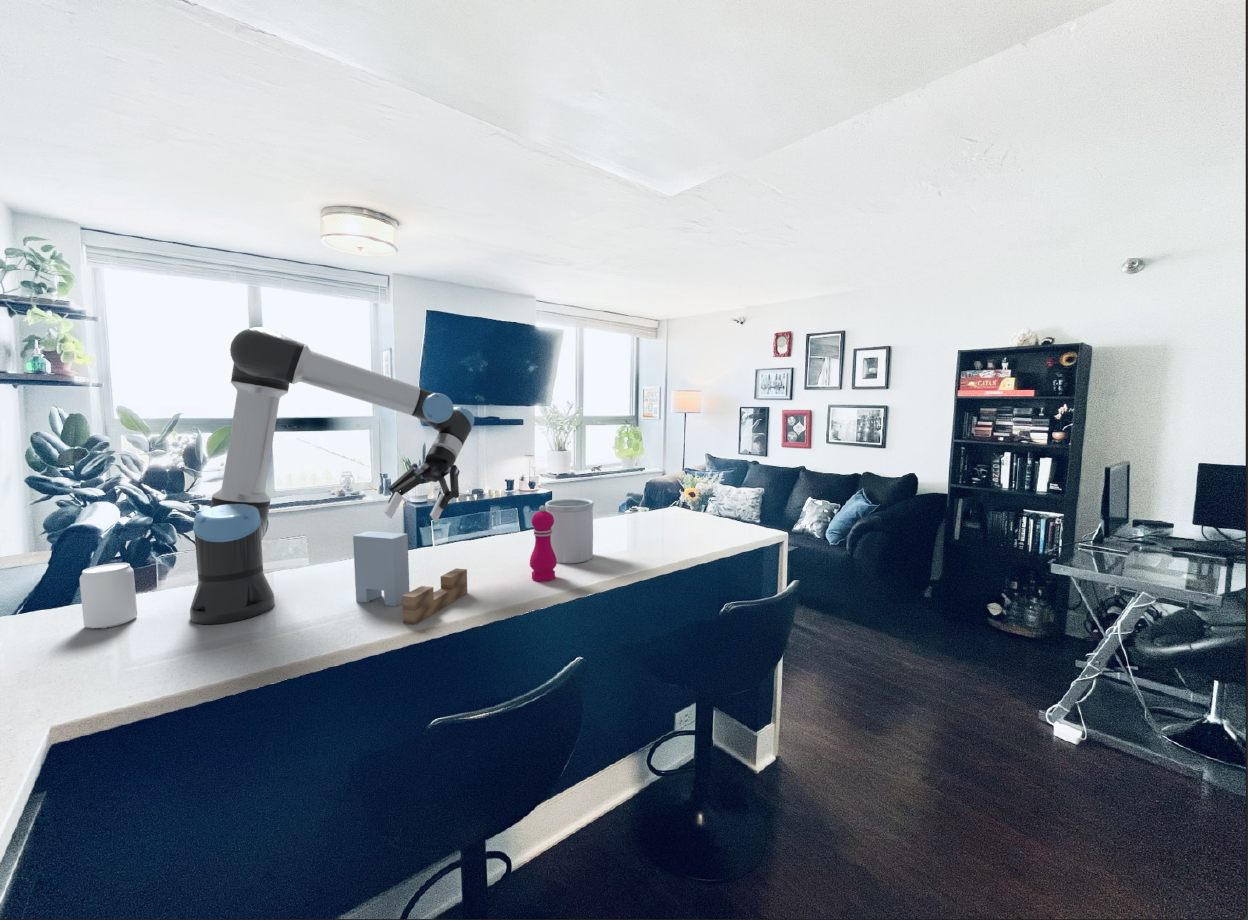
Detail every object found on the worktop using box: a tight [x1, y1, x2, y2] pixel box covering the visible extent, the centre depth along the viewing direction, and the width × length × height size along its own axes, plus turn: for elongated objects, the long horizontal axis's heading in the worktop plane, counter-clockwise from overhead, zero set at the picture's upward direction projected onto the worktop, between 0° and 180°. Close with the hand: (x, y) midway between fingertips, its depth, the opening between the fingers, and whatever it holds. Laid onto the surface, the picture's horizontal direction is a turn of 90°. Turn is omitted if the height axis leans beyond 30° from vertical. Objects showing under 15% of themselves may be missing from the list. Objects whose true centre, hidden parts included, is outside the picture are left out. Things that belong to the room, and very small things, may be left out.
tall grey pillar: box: [352, 530, 411, 607], centre depth 123 cm, size 11×5×16 cm, turn 75°
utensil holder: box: [544, 497, 594, 564], centre depth 160 cm, size 15×15×18 cm
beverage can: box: [79, 562, 138, 629], centre depth 110 cm, size 8×8×12 cm
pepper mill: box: [529, 505, 558, 582], centre depth 140 cm, size 7×7×20 cm
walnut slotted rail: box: [402, 567, 468, 625], centre depth 119 cm, size 20×3×6 cm, turn 165°
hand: (410, 516), depth 132 cm, fingers open, 13 cm apart
